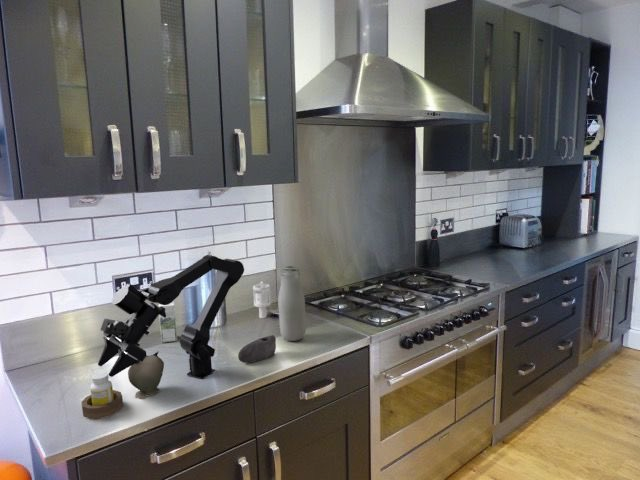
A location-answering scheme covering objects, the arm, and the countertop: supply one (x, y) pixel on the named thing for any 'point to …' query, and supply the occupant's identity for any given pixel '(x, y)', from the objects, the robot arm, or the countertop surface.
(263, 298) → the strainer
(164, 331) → the syrup box
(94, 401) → the supplement bottle
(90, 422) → the countertop surface
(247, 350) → the perforated stone tool
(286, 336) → the grey bottle vase
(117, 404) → the walnut ring socket
